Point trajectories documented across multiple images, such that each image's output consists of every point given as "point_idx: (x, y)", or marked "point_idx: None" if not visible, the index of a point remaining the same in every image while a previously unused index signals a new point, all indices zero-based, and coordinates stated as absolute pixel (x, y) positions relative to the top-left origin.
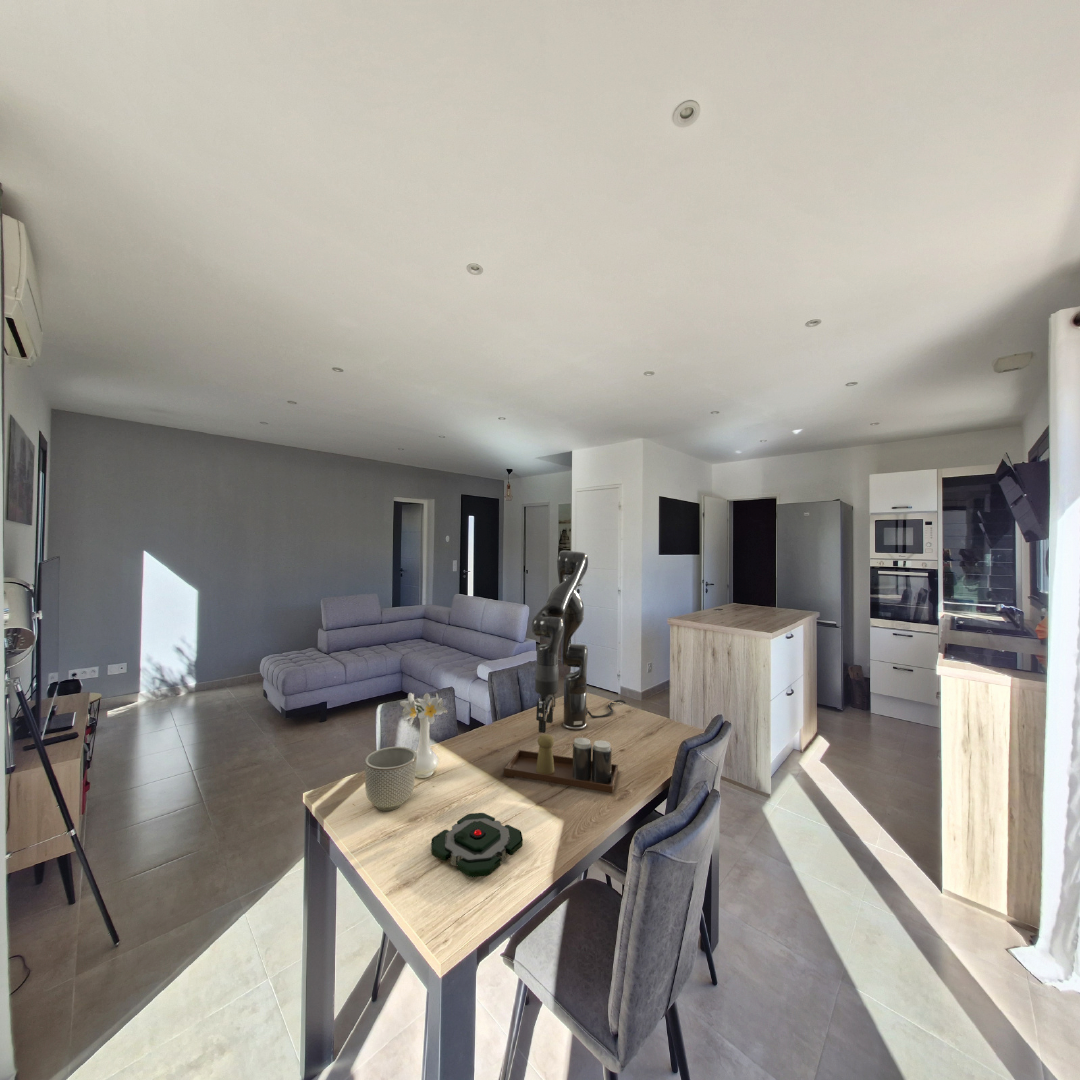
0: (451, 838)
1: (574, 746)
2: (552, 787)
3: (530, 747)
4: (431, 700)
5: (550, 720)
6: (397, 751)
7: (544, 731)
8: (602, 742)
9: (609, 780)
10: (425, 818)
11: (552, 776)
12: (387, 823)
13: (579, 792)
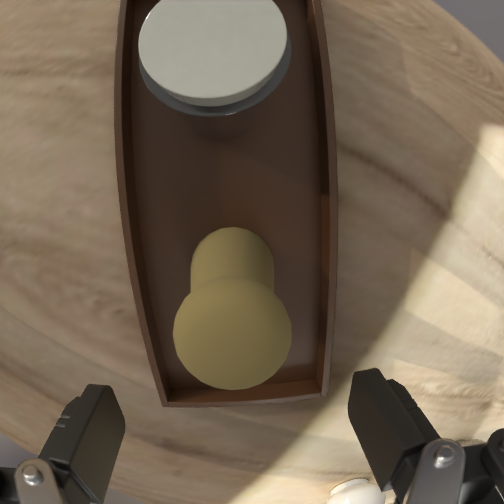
0: None
1: (257, 94)
2: (346, 196)
3: (83, 371)
4: None
5: (106, 410)
6: None
7: (378, 377)
8: None
9: None
10: (487, 394)
11: (337, 207)
12: (488, 420)
13: (342, 87)
